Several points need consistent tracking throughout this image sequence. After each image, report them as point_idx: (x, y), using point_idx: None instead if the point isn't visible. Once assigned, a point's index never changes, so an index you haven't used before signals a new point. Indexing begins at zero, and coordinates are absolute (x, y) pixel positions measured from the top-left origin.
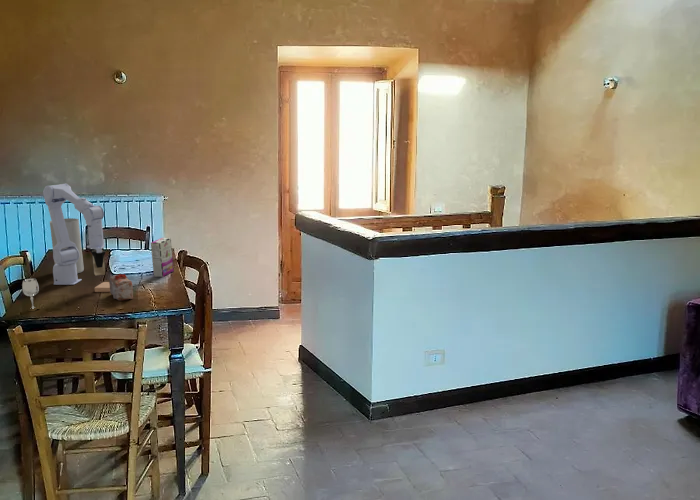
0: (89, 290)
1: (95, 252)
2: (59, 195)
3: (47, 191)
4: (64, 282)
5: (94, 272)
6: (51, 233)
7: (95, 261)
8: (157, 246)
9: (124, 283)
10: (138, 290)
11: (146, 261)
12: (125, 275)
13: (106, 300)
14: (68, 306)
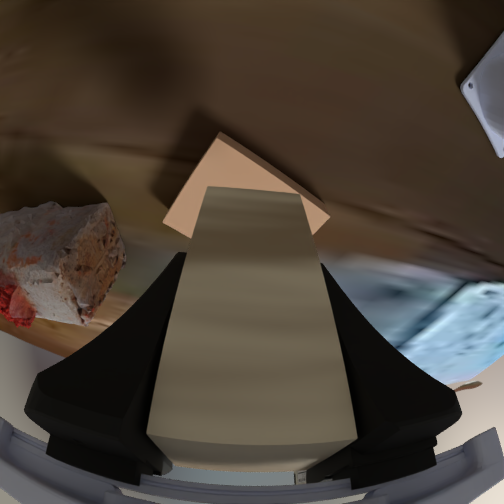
0: (277, 109)
1: (43, 426)
2: None
3: None
4: (493, 61)
5: (252, 198)
6: None
7: (138, 299)
8: (302, 481)
9: None
10: None
11: (477, 359)
12: (18, 324)
13: (31, 170)
14: (16, 12)
